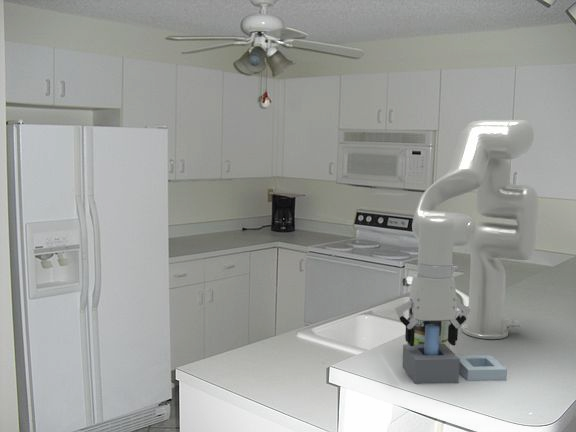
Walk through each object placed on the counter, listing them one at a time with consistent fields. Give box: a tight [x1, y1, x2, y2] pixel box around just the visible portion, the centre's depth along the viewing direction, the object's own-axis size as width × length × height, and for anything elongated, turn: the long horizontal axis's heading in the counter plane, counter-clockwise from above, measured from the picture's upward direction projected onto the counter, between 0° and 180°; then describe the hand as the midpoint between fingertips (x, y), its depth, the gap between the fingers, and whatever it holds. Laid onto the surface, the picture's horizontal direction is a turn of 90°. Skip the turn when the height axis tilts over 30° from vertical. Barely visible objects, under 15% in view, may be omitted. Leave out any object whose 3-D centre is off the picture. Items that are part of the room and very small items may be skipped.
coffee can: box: [406, 313, 451, 349], centre depth 149 cm, size 10×10×14 cm
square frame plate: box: [456, 354, 508, 382], centre depth 140 cm, size 9×9×3 cm
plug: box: [424, 324, 440, 355], centre depth 138 cm, size 3×3×12 cm
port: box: [402, 343, 460, 385], centre depth 138 cm, size 10×10×6 cm
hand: (431, 343), depth 138 cm, fingers open, 9 cm apart
